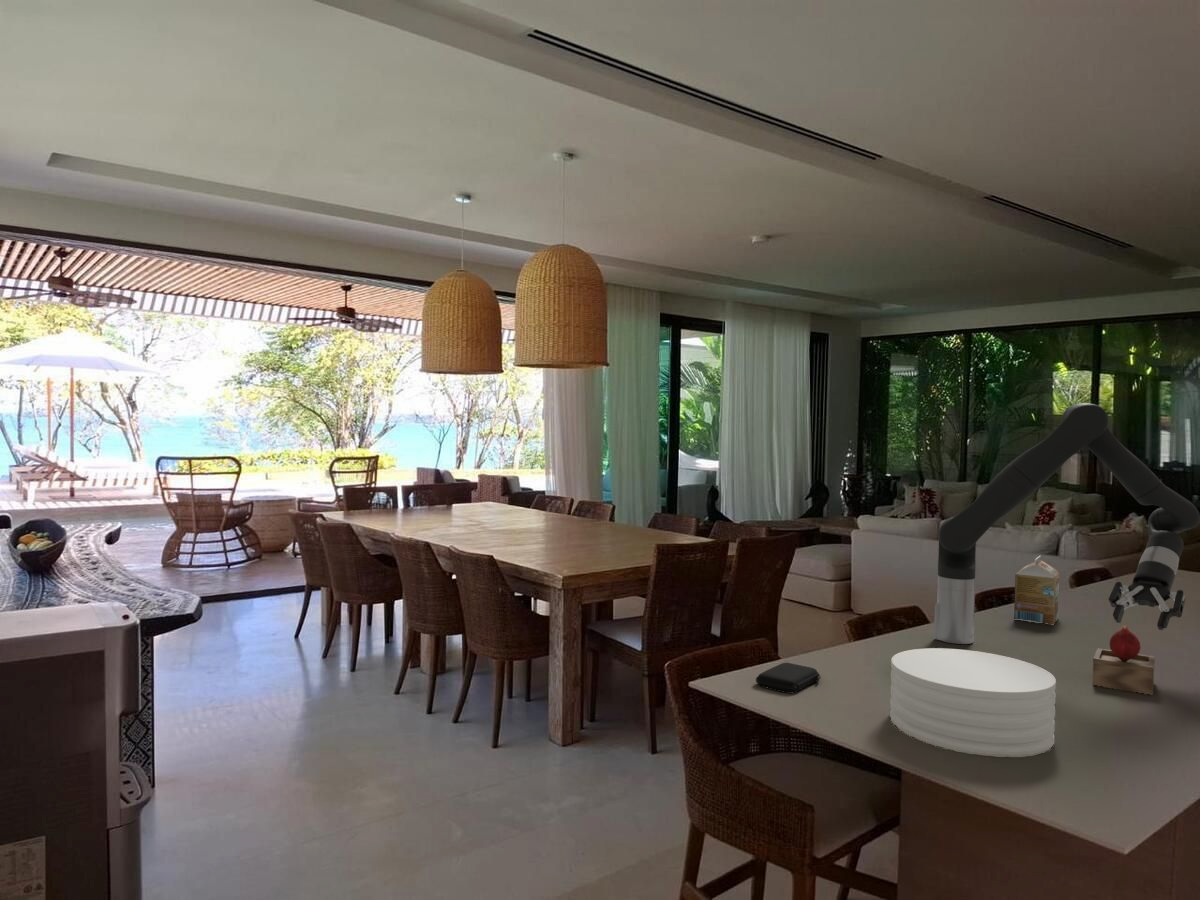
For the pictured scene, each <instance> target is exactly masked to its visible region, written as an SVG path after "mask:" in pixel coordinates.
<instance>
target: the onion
mask: <svg viewBox="0 0 1200 900" xmlns="http://www.w3.org/2000/svg"><path fill="white" fill-rule="evenodd" d="M1121 628H1122V629H1120V630H1117V631H1115V633H1113V634H1112V636H1110V638H1109V648H1110V649H1109V650H1111V651H1112V652H1113V653H1114V654H1115V655H1116V656H1117V657H1118V658H1119V659H1120V660H1121V661H1123V662H1126V661H1128V660H1130V659H1132V658H1134V657H1135V656H1137V655H1138V654H1140V651H1141V643H1140V640H1139V638H1138V637H1137V636H1136V634H1134V633H1133V632H1132V631H1130V630H1129V627H1128V626H1126V625H1122V627H1121Z"/></svg>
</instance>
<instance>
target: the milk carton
mask: <svg viewBox="0 0 1200 900" xmlns="http://www.w3.org/2000/svg"><path fill="white" fill-rule="evenodd" d="M1041 558H1042V555H1039V556H1037V557H1036V558H1035V559H1034V561H1033V562H1031V563H1029V564H1027V565H1025V566H1023V567H1022V568H1021V569H1019V570H1018V571H1017V572H1016V573H1015V575H1014V578H1015V579H1014V612H1013V613H1014V616H1013V620H1014V619H1023V620H1031V621H1036V622H1042V623H1048V624H1055V625H1056V623H1057V622H1058V620H1059V612H1060V611H1059V608H1060V606H1059V605H1060V601H1059V599H1060V575H1061V574H1060V572H1059V571H1058V570H1057V569H1056V568H1054V566H1051V565H1050V564H1048V563H1047V562H1045V561H1043V560H1042V559H1041ZM1057 619H1058V620H1057ZM1056 621H1057V622H1056ZM1055 622H1056V623H1055Z"/></svg>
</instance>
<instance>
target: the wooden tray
mask: <svg viewBox="0 0 1200 900" xmlns="http://www.w3.org/2000/svg"><path fill="white" fill-rule="evenodd" d="M1155 658H1156V657H1155V656H1154V655H1146V654H1140V653H1138V655H1137V656H1135V657H1134V658H1132V659H1130V660H1128V661H1126V662H1123V661H1121V660H1120V659H1119V658H1118V657H1117V656H1116V655H1115V654H1114V653H1113V652H1112V651H1111V649H1105V648H1098V647H1097V648H1096V651H1095V654H1094V655H1093V659H1092V662H1093V663H1092V686H1094V685H1097V686H1096V687H1100V686H1103V687H1102V688H1106V687H1107V689H1112V688H1113V690H1118V689H1119V691H1124V690H1125V692H1130V691H1131V692H1132V693H1136V692H1138V693H1137V694H1141V693H1144V694H1143V695H1147V694H1150V695H1149V696H1153V695H1154V687H1153V686H1154V685H1155V664H1156V663H1155Z"/></svg>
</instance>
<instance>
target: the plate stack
mask: <svg viewBox="0 0 1200 900" xmlns="http://www.w3.org/2000/svg"><path fill="white" fill-rule="evenodd" d="M890 663H891V664H890V668H891V671H890V681H891V683H890V695H891V696H890V702H889V703H890V709H889V710H890V711H889V718H890V717H891V720H892V721H893V722H894V724H895V725H897V726H898V727H899V728H901V729H902V730H904V731H905V732H907V733H909V734H911V735H913V736H915V737H918V738H921V739H923V740H925V741H928V742H931V743H934V744H937V745H940V746H944V747H948V748H953V749H958V750H964V751H970V752H978V753H986V754H1003V755H1005V754H1007V755H1022V754H1033V753H1038V752H1041V751H1044V750H1047V749H1049V748H1051V747H1052V746H1053V744H1054V745H1055V734H1054V733H1055V730H1056V721H1055V720H1054V719H1055V717H1056V706H1055V704H1056V697H1057V696H1056V692H1055V690H1056V689H1057V688H1056V687H1057V680H1056V677H1055V676H1054V675H1053V674H1052V673H1051V672H1049V671H1048V670H1046V669H1044V668H1042V667H1040V666H1038V665H1036V664H1033V663H1030V662H1027V661H1024V660H1021V659H1017V658H1014V657H1009V656H1004V655H1001V654H996V653H990V652H984V651H977V650H969V649H957V648H943V647H937V648H935V647H932V648H931V647H929V648H927V647H925V648H915V649H908V650H904V651H900V652H898V653H896V654H893V656H892V657H891V661H890ZM891 720H890V721H891ZM1053 747H1054V746H1053Z"/></svg>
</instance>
